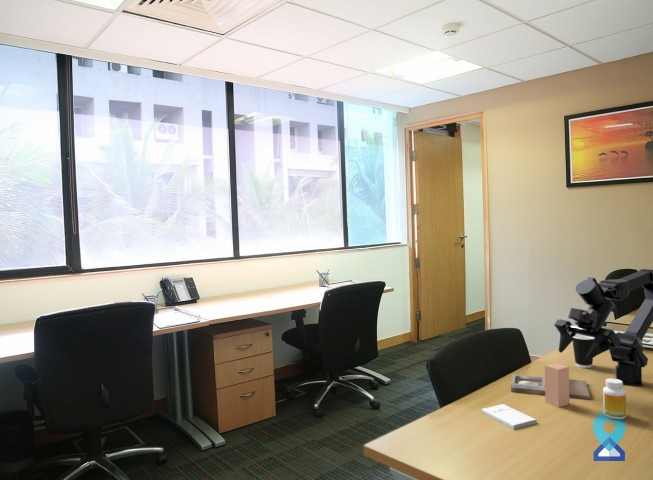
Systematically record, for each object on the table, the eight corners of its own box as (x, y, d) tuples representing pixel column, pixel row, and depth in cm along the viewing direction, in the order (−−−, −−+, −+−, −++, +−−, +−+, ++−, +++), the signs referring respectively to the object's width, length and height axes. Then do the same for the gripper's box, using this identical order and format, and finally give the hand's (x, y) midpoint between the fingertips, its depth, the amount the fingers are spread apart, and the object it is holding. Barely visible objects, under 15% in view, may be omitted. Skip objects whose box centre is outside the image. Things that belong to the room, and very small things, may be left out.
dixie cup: (600, 369, 170) (600, 338, 169) (577, 369, 171) (576, 338, 170) (589, 362, 178) (589, 332, 177) (567, 362, 178) (567, 333, 178)
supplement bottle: (629, 420, 129) (629, 384, 129) (607, 419, 130) (606, 383, 130) (621, 412, 134) (621, 377, 134) (600, 411, 136) (599, 377, 135)
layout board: (585, 383, 157) (585, 377, 157) (590, 399, 144) (589, 392, 144) (513, 377, 166) (512, 370, 165) (511, 391, 153) (510, 384, 153)
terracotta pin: (556, 398, 146) (555, 362, 145) (569, 403, 141) (568, 366, 141) (545, 401, 144) (544, 365, 143) (558, 407, 140) (557, 369, 139)
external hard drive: (513, 431, 127) (481, 414, 138) (537, 425, 130) (503, 408, 141) (513, 425, 127) (481, 408, 138) (537, 419, 130) (503, 403, 141)
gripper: (557, 294, 155) (533, 333, 151) (614, 302, 138) (588, 346, 134) (574, 315, 159) (551, 354, 154) (631, 326, 142) (607, 369, 138)
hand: (573, 355), depth 145 cm, fingers open, 9 cm apart
